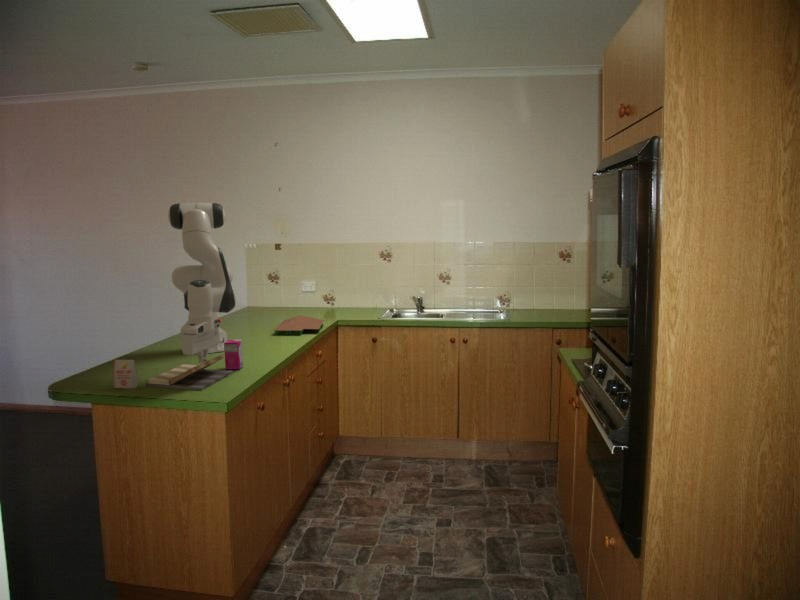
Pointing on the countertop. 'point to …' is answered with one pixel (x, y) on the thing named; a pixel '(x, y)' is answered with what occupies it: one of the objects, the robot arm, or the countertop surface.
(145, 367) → the countertop surface
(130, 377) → the white food carton
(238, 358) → the supplement box
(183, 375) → the walnut plank
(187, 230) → the robot arm
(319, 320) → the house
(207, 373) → the floor board
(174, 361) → the countertop surface
